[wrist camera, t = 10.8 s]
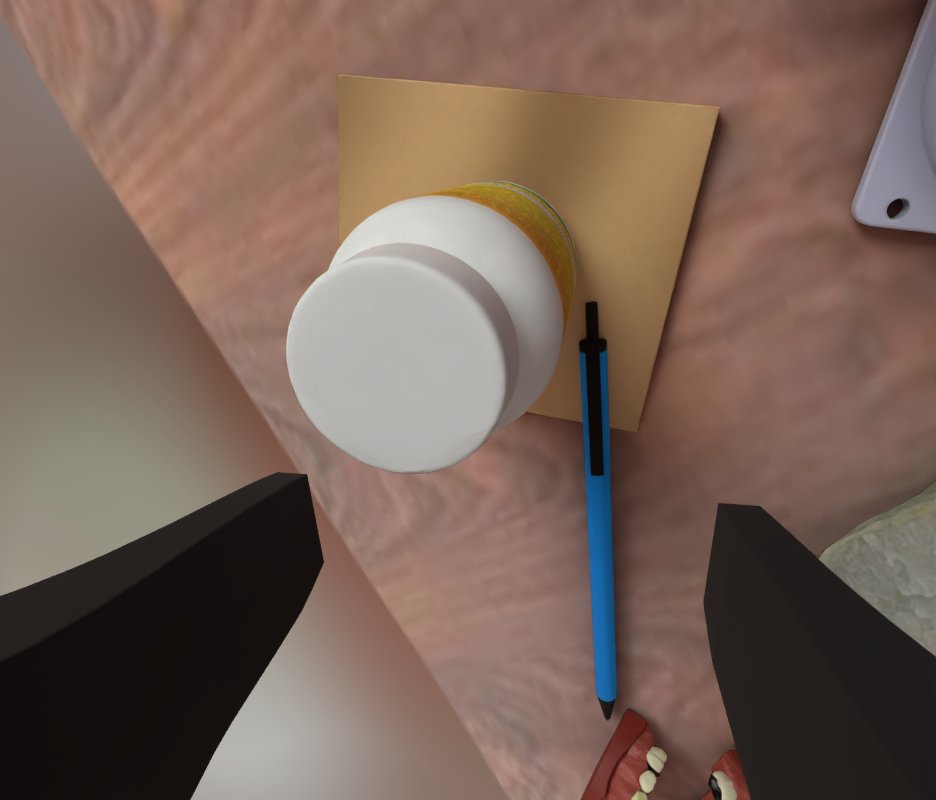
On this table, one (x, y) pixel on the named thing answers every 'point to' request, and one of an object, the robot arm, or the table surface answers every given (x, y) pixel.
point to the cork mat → (547, 196)
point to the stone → (894, 565)
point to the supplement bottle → (434, 325)
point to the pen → (599, 505)
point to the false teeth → (652, 767)
